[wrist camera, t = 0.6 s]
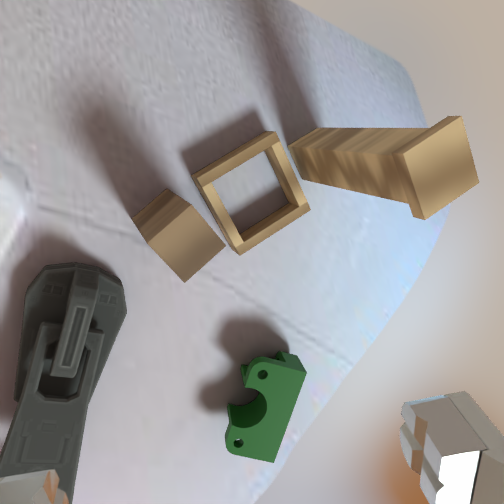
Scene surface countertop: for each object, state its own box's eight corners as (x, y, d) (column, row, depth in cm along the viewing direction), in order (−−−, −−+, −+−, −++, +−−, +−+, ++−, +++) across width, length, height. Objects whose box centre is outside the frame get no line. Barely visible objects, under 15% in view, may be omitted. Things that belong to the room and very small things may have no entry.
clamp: (239, 343, 56) (258, 342, 47) (283, 354, 57) (310, 356, 48) (215, 442, 53) (230, 462, 44) (262, 453, 54) (286, 473, 45)
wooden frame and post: (190, 175, 44) (267, 207, 27) (313, 102, 47) (454, 89, 29) (232, 249, 48) (323, 319, 30) (343, 178, 50) (485, 204, 33)
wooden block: (131, 218, 43) (147, 243, 34) (166, 188, 43) (191, 204, 34) (162, 251, 45) (184, 282, 36) (195, 222, 45) (226, 245, 36)
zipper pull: (-39, 547, 38) (30, 275, 35) (-24, 490, 44) (36, 253, 41) (71, 542, 42) (142, 296, 38) (71, 490, 48) (133, 273, 44)
